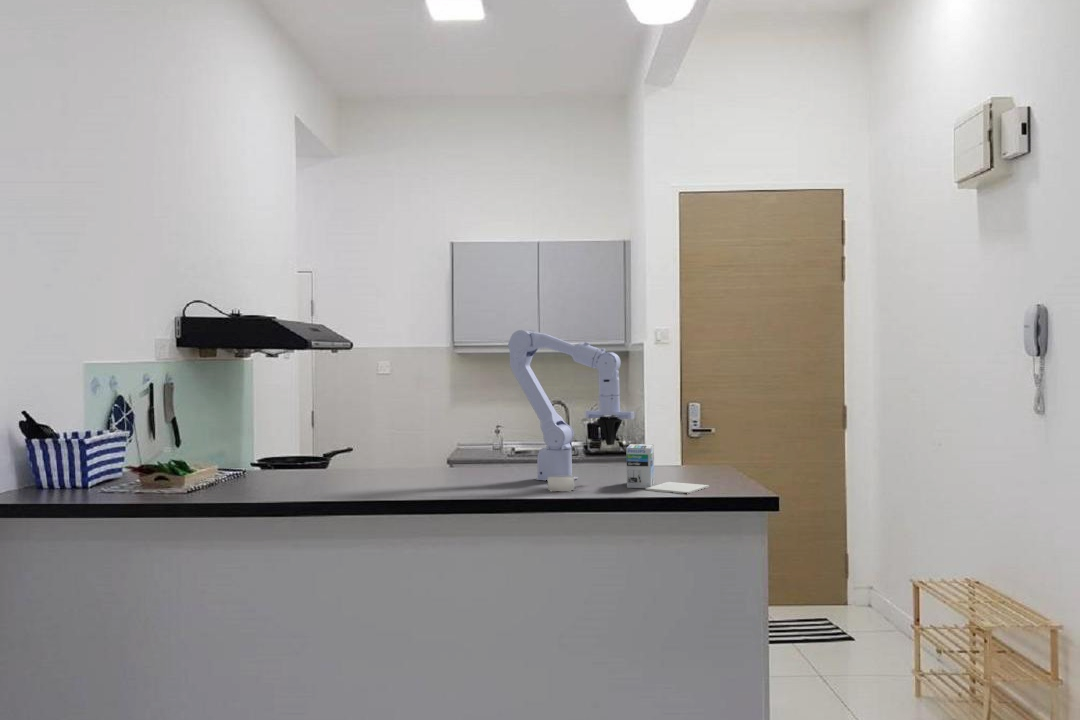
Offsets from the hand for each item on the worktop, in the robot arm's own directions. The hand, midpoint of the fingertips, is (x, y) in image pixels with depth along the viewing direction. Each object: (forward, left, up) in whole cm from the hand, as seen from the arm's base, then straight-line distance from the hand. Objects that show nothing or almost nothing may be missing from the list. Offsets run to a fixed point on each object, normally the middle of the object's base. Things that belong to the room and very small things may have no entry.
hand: (610, 444), depth 244 cm
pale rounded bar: (-4, -18, -11) cm, 22 cm away
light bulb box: (+10, -1, -11) cm, 15 cm away
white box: (+21, -1, -10) cm, 24 cm away
